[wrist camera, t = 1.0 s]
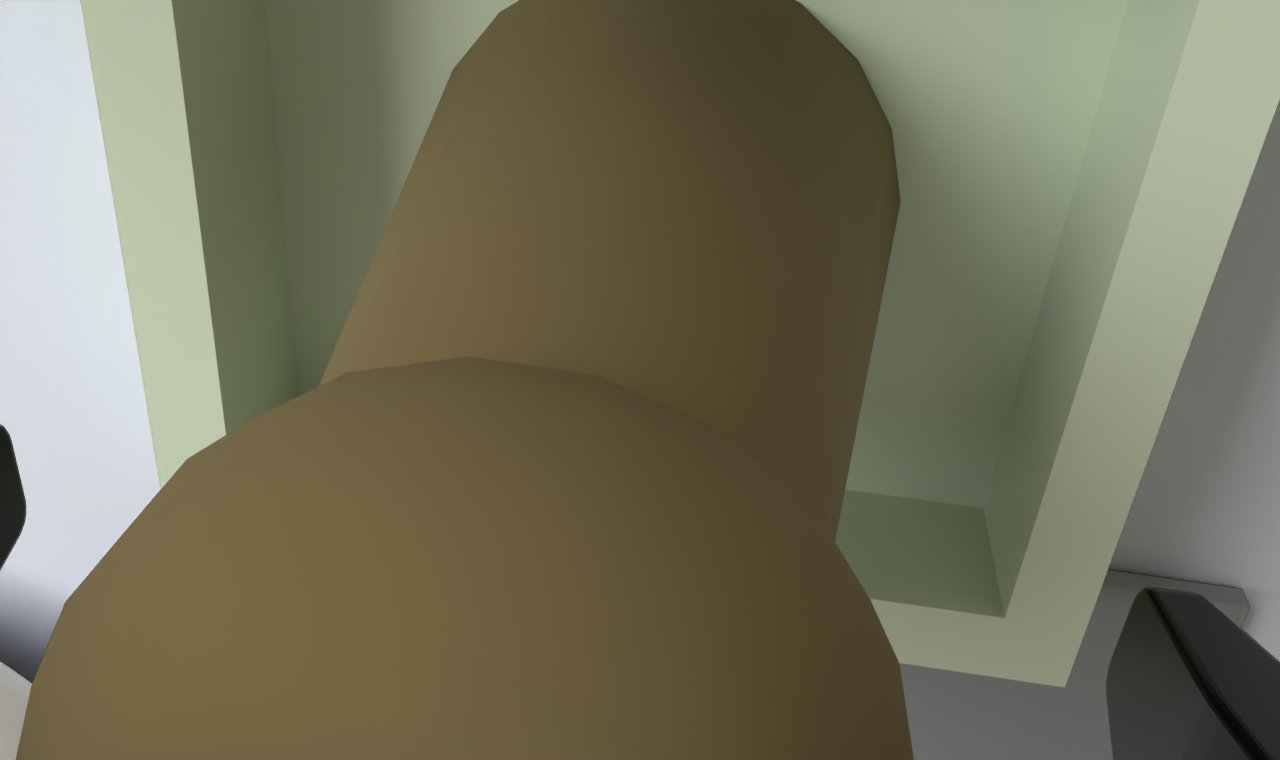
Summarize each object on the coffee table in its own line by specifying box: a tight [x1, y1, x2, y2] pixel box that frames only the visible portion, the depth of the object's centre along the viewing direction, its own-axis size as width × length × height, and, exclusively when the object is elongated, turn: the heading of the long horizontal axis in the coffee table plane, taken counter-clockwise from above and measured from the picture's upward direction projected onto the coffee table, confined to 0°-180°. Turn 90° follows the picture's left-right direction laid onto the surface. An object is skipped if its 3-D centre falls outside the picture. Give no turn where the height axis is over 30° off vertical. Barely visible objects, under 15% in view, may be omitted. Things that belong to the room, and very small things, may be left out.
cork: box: [16, 0, 914, 760], centre depth 10 cm, size 6×6×11 cm
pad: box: [900, 570, 1250, 760], centre depth 20 cm, size 8×8×1 cm
